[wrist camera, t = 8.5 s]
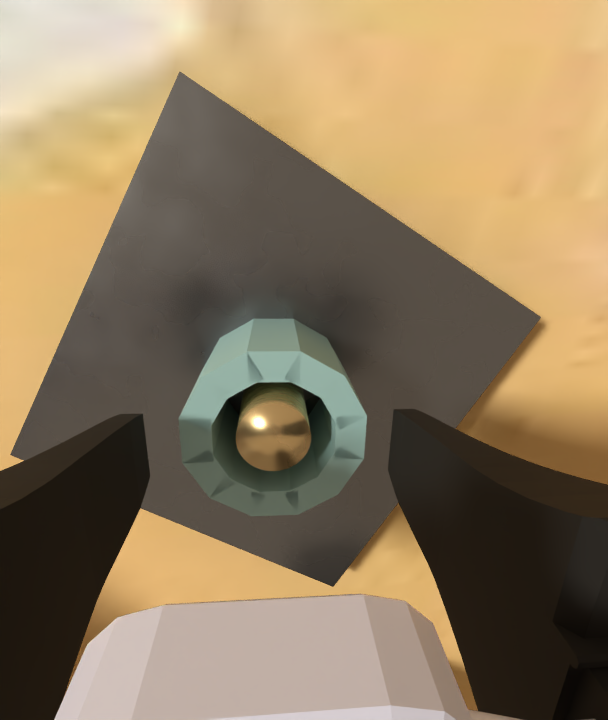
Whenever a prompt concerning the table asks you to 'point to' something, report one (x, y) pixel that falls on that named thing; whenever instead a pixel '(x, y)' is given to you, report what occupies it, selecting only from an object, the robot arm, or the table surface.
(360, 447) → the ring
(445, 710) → the robot arm
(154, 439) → the hub plate
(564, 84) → the table surface
